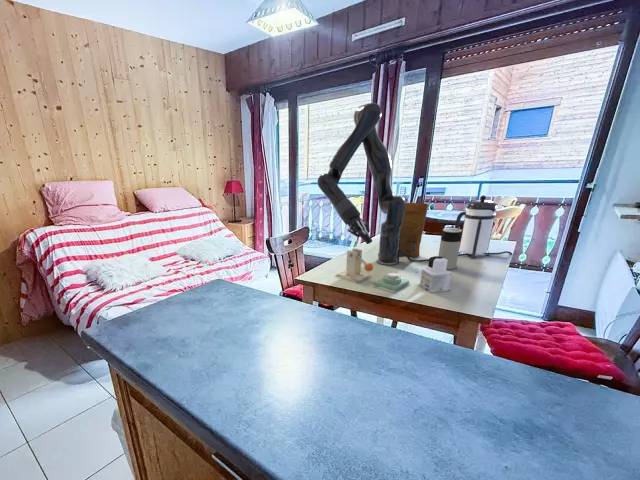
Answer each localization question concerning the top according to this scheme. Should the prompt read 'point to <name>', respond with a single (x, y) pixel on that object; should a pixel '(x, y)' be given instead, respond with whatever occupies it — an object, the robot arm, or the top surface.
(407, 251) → the pancake mix bag
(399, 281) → the button box
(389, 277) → the button
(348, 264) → the switch bracket
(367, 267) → the switch lever
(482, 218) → the coffee press
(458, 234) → the travel mug
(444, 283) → the container
